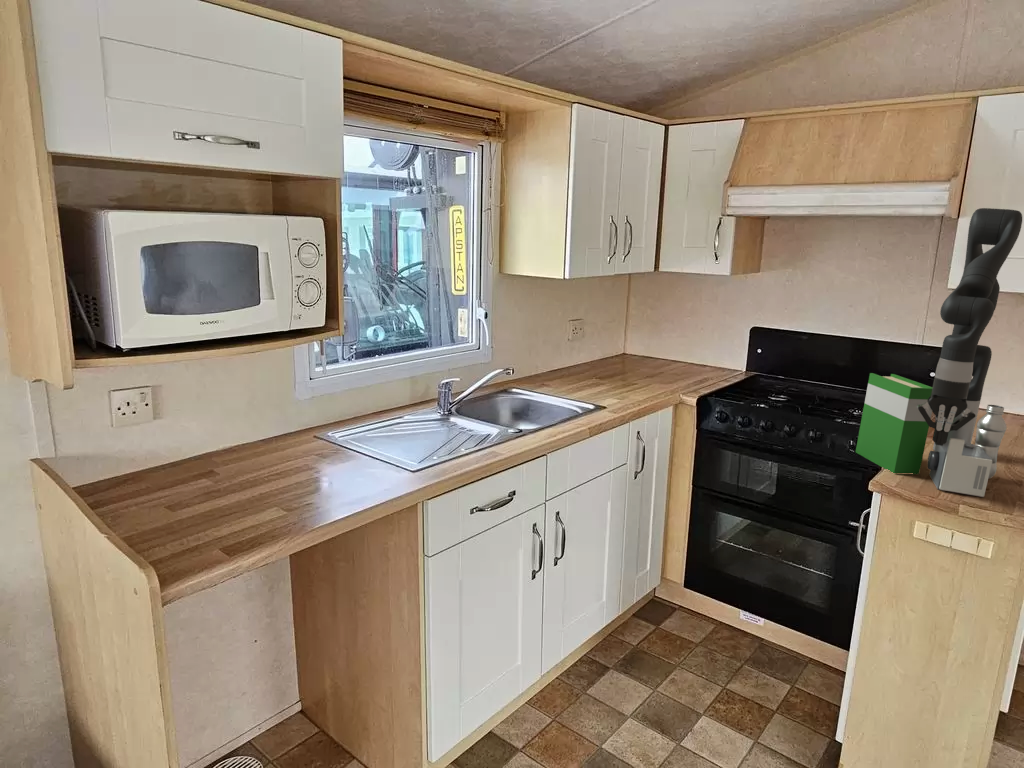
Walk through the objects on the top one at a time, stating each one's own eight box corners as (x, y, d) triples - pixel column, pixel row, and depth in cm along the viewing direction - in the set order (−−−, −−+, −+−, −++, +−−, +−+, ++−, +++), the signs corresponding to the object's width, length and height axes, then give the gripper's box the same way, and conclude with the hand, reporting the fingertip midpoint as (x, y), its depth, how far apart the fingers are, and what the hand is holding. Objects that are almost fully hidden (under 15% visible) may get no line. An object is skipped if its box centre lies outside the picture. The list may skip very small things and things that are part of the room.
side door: (939, 488, 175) (950, 437, 172) (982, 495, 172) (994, 444, 169) (939, 489, 174) (950, 438, 171) (984, 497, 171) (996, 445, 168)
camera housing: (922, 473, 187) (930, 435, 185) (971, 481, 183) (980, 443, 180) (930, 488, 176) (939, 448, 174) (983, 497, 172) (992, 456, 170)
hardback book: (855, 452, 203) (869, 373, 197) (878, 452, 203) (893, 374, 198) (893, 473, 186) (910, 387, 180) (919, 474, 186) (936, 388, 181)
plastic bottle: (966, 470, 192) (981, 401, 187) (995, 477, 188) (1012, 406, 183) (963, 476, 187) (979, 405, 182) (993, 483, 183) (1010, 411, 178)
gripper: (980, 378, 170) (965, 445, 174) (919, 371, 175) (906, 436, 179) (988, 384, 163) (972, 453, 167) (924, 376, 168) (911, 444, 172)
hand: (938, 444), depth 173 cm, fingers closed
